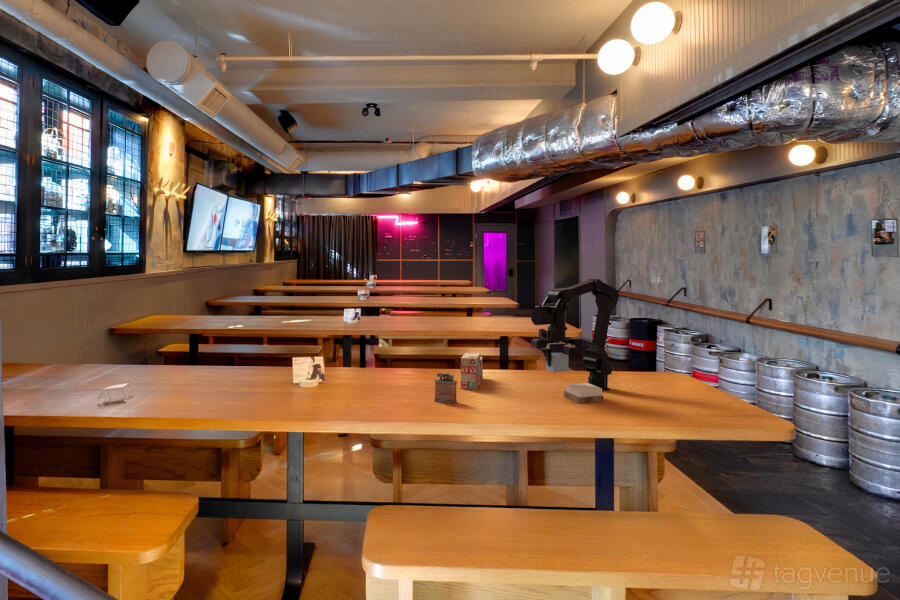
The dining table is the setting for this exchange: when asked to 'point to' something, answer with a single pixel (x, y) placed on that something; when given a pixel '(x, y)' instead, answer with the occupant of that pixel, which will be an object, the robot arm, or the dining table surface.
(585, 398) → the tower bottom
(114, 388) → the origami figure
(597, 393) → the tower top
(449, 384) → the lighter
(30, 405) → the dining table surface
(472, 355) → the printed cardboard box
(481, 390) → the dining table surface
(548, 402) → the dining table surface
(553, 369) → the slate block
